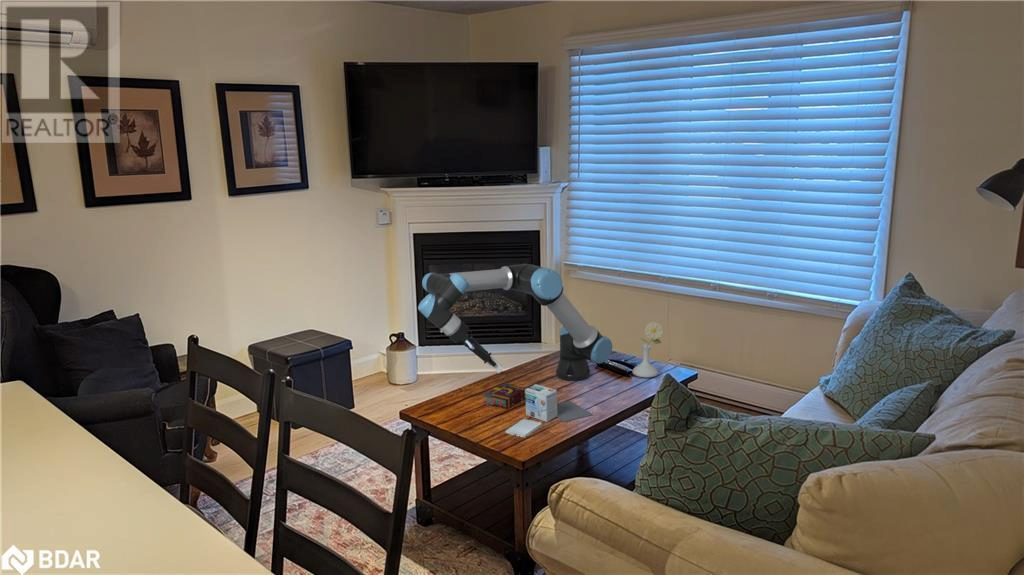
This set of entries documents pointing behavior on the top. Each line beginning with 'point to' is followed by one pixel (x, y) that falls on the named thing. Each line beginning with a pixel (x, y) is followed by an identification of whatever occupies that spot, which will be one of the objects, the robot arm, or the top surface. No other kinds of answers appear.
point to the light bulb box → (541, 402)
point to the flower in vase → (645, 367)
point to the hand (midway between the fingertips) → (501, 369)
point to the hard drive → (523, 428)
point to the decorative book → (505, 396)
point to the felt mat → (570, 411)
